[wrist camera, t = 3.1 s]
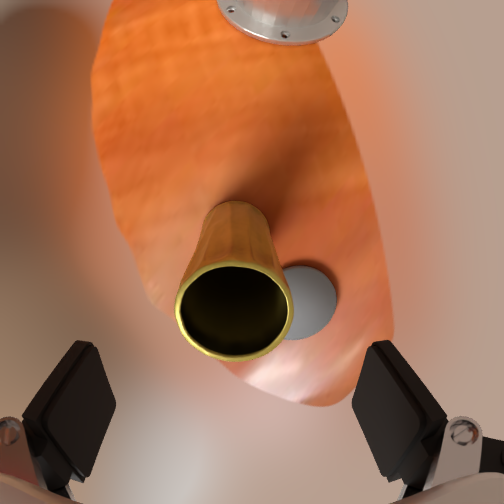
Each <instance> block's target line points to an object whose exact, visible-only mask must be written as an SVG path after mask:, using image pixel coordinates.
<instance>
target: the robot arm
mask: <svg viewBox="0 0 504 504" xmlns="http://www.w3.org/2000/svg"><path fill="white" fill-rule="evenodd" d="M217 4H218V7H219V9H220V11H221V13H222V15H223V16H224V17H225V18H226V20H227V21H228V22H229V23H230V24H231V25H233V26H234V27H235V28H236V29H238V30H239V31H241V32H243V33H245V34H246V35H248V36H250V37H253V38H256V39H258V40H261V41H264V42H269V43H272V44H279V45H305V44H312V43H315V42H318V41H321V40H324V39H325V38H327V37H329V36H331V35H332V34H333V33H334V32H336V31H337V30H338V29H339V28H340V26H341V25H342V24H343V22H344V20H345V18H346V16H347V11H348V2H347V0H217ZM230 12H232V13H230ZM282 36H284V37H286V38H283V37H282ZM115 408H116V400H115V398H114V395H113V392H112V390H111V387H110V384H109V382H108V379H107V376H106V373H105V370H104V367H103V364H102V361H101V358H100V355H99V352H98V349H97V348H96V347H94V345H93V344H92V343H91V342H86V341H79V340H77V341H75V343H74V344H73V345H72V346H71V347H70V349H69V350H68V351H67V353H66V354H65V356H64V357H63V358H62V359H61V361H60V362H59V363H58V365H57V366H56V367H55V369H54V370H53V371H52V373H51V374H50V376H49V377H48V378H47V380H46V381H45V382H44V384H43V385H42V387H41V388H40V389H39V391H38V392H37V394H36V395H35V397H34V398H33V399H32V401H31V403H30V404H29V405H28V407H27V408H26V410H25V412H24V413H23V414H22V417H23V418H24V419H23V421H22V423H21V422H20V420H19V419H17V418H14V417H3V418H1V419H0V504H81V503H79V502H76V500H75V498H74V495H73V493H72V491H71V489H70V486H69V484H68V483H69V480H70V479H73V480H75V481H78V482H81V483H84V480H85V478H86V477H89V476H90V474H91V471H92V468H93V466H94V463H95V460H96V457H97V455H98V452H99V449H100V446H101V444H102V441H103V439H104V436H105V433H106V431H107V429H108V426H109V423H110V421H111V418H112V416H113V414H114V411H115ZM352 408H353V410H354V413H355V415H356V417H357V419H358V422H359V424H360V426H361V429H362V431H363V433H364V435H365V438H366V440H367V442H368V445H369V447H370V449H371V452H372V454H373V456H374V459H375V461H376V463H377V466H378V468H379V470H380V473H381V475H382V476H384V477H387V480H388V482H392V481H395V480H397V479H400V478H402V480H403V482H404V486H403V488H402V490H401V493H400V495H399V497H398V500H397V501H396V502H393V503H390V504H504V441H501V440H496V439H491V438H488V437H483V435H482V430H481V427H480V425H479V424H478V423H477V422H476V421H475V420H473V419H472V418H469V417H464V416H459V417H455V418H453V419H451V420H450V421H448V420H447V418H446V417H447V415H446V413H445V412H444V410H443V409H442V408H441V406H440V405H439V404H438V402H437V401H436V400H435V398H434V397H433V395H432V394H431V393H430V392H429V390H428V389H427V387H426V386H425V385H424V383H423V382H422V381H421V380H420V378H419V377H418V376H417V374H416V373H415V372H414V370H413V369H412V368H411V367H410V365H409V364H408V363H407V361H406V360H405V359H404V358H403V357H402V355H401V354H400V352H399V351H398V350H397V349H396V347H395V346H394V345H393V344H392V342H391V341H389V340H384V341H377V342H373V343H372V345H371V346H370V347H368V349H367V352H366V355H365V359H364V363H363V366H362V370H361V373H360V376H359V380H358V383H357V386H356V389H355V392H354V396H353V398H352Z"/></svg>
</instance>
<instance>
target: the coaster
mask: <svg viewBox="0 0 504 504" xmlns="http://www.w3.org/2000/svg"><path fill="white" fill-rule="evenodd" d="M282 270H283V273H284V276H285V278H286V280H287V283H288V285H289V287H290V291H291V295H292V298H293V305H294V317H293V321H292V324H291V327H290V329H289V331H288V333H287V335H286V336H285V338H284V339H285V340H299V339H304V338H307V337H310V336H312V335H314V334H316V333H317V332H319V331H320V330H322V329H323V328H324V327H325V326H326V325H327V324H328V322H329V321H330V320H331V318H332V316H333V314H334V312H335V309H336V303H337V297H336V291H335V289H334V286H333V285H332V283H331V282H330V280H329V279H328V278H327V276H326V275H324V274H323V273H322V272H321V271H319V270H317V269H315V268H312V267H309V266H300V265H299V266H291V267H287V268H284V269H282Z"/></svg>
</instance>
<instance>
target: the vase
mask: <svg viewBox="0 0 504 504" xmlns="http://www.w3.org/2000/svg"><path fill="white" fill-rule="evenodd" d="M174 313H175V319H176V321H177V324H178V327H179V329H180V331H181V333H182V335H183V336H184V338H185V339H186V340H187V341H188V342H189V343H190V344H191V345H192V346H193V347H194V348H196V349H197V350H199V351H200V352H202V353H203V354H205V355H207V356H210V357H212V358H215V359H219V360H223V361H231V362H241V361H248V360H253V359H256V358H259V357H261V356H264V355H266V354H268V353H269V352H271V351H272V350H273V349H274V348H276V347H277V346H278V345H279V344H280V343H281V342H282V341H283V339H284V338H285V336H286V335H287V333H288V331H289V329H290V327H291V324H292V321H293V317H294V305H293V298H292V295H291V291H290V287H289V285H288V283H287V280H286V278H285V276H284V273H283V270H282V268H281V265H280V262H279V259H278V256H277V253H276V249H275V247H274V244H273V241H272V238H271V235H270V228H269V225H268V222H267V220H266V218H265V216H264V215H263V213H262V212H261V211H260V210H259V209H258V208H256V207H255V206H253V205H251V204H249V203H247V202H242V201H228V202H225V203H222V204H220V205H218V206H216V207H215V208H213V209H212V210H211V211H210V212H209V214H208V215H207V216H206V218H205V220H204V222H203V226H202V231H201V234H200V238H199V241H198V244H197V247H196V250H195V252H194V254H193V256H192V258H191V261H190V263H189V265H188V267H187V269H186V271H185V273H184V275H183V278H182V280H181V283H180V286H179V289H178V292H177V295H176V299H175V305H174Z"/></svg>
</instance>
